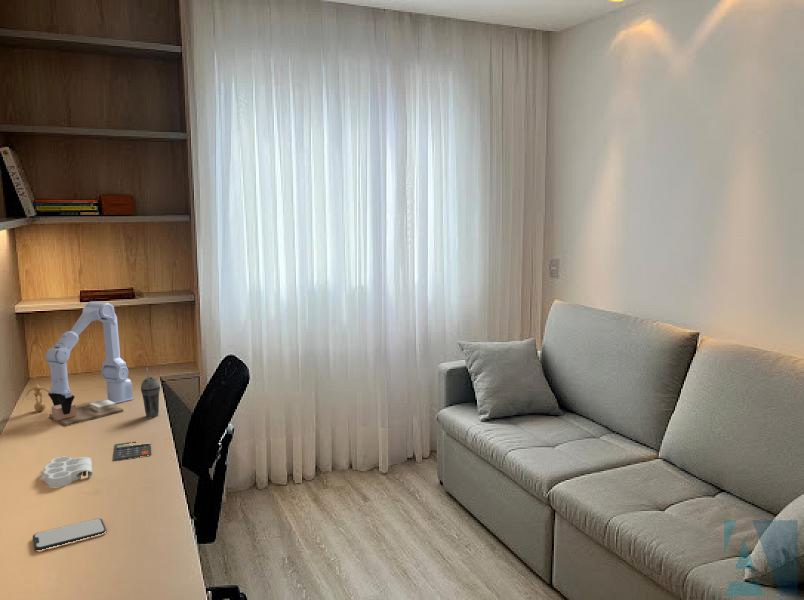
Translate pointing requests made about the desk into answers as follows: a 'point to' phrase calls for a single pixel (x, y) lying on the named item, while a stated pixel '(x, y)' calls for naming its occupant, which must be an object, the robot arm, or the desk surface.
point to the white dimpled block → (65, 470)
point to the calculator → (130, 451)
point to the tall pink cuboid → (58, 412)
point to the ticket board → (92, 412)
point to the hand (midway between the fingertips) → (62, 411)
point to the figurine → (40, 405)
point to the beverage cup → (150, 395)
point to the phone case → (68, 534)
